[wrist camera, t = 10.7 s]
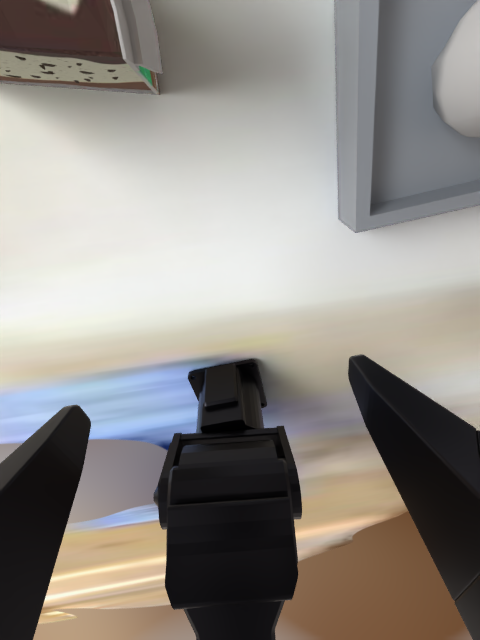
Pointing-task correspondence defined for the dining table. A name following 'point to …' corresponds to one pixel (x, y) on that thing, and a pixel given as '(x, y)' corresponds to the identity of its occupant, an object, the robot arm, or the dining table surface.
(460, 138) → the bin
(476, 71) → the salt shaker
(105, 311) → the dining table surface
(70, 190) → the dining table surface
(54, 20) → the food container
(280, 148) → the dining table surface
